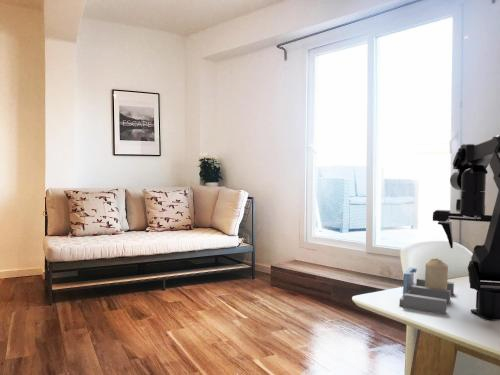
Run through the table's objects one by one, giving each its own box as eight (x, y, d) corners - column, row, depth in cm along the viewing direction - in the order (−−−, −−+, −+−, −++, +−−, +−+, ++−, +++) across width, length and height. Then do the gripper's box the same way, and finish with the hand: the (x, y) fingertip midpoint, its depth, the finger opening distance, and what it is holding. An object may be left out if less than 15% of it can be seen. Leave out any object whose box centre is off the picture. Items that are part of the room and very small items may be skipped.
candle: (450, 299, 113) (451, 261, 113) (429, 298, 113) (430, 261, 113) (441, 293, 119) (442, 257, 118) (421, 293, 119) (422, 257, 119)
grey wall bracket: (445, 314, 100) (446, 288, 100) (394, 305, 106) (395, 281, 106) (453, 293, 119) (454, 271, 119) (410, 287, 125) (410, 266, 125)
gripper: (513, 192, 116) (511, 249, 116) (438, 189, 125) (436, 242, 126) (514, 193, 106) (512, 255, 107) (433, 190, 116) (431, 247, 116)
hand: (470, 250), depth 114 cm, fingers open, 9 cm apart
